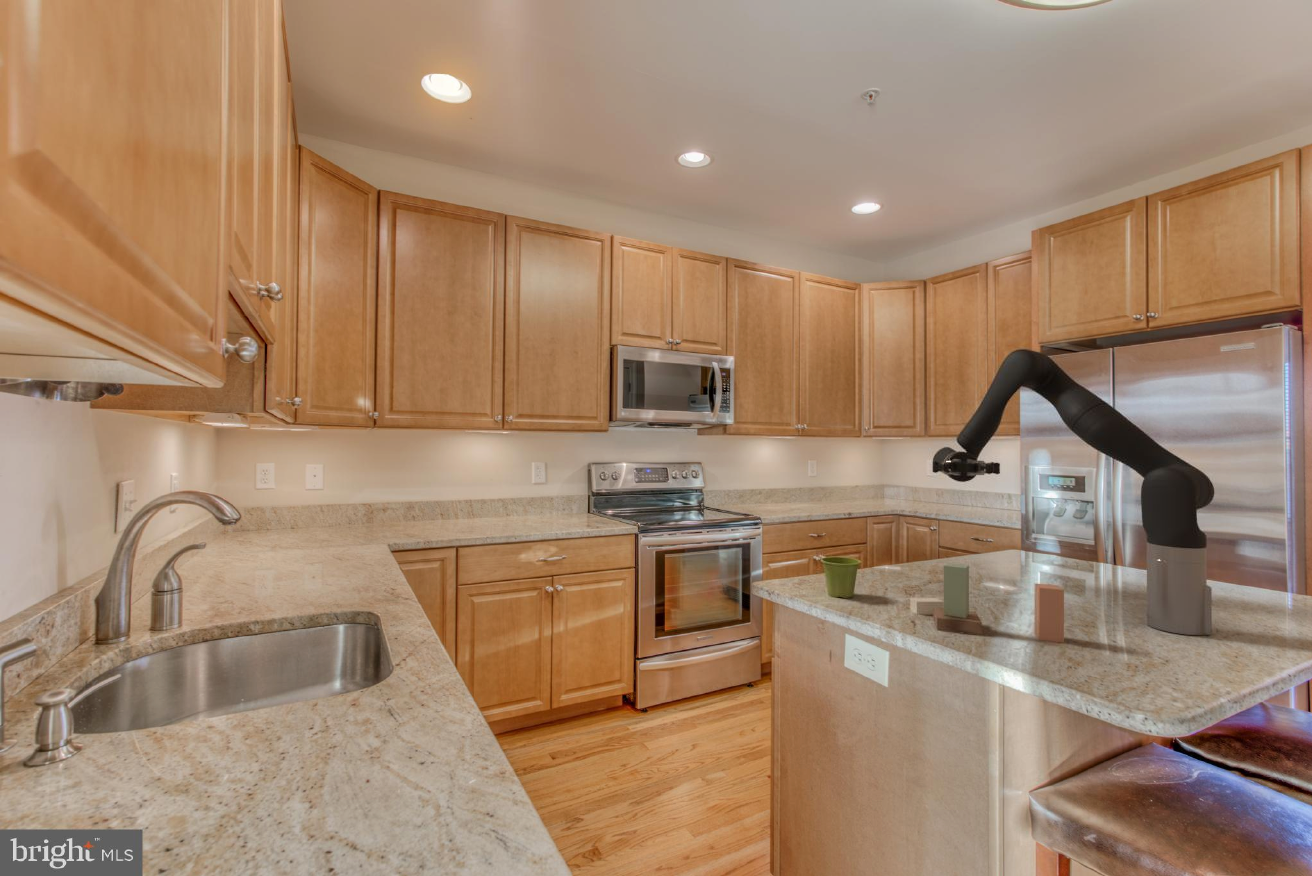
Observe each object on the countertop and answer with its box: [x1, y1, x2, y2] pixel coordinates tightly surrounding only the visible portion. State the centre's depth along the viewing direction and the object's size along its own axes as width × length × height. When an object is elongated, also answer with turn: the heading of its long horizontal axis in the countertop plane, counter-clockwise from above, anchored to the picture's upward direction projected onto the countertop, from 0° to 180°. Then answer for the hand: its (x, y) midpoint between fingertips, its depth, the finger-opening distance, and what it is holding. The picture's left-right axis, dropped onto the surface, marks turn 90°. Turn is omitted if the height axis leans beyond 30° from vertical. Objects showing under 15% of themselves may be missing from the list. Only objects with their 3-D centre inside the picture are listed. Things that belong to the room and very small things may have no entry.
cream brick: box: [910, 597, 944, 615], centre depth 132 cm, size 6×3×3 cm, turn 92°
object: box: [820, 556, 861, 599], centre depth 146 cm, size 9×9×9 cm
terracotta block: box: [1033, 582, 1065, 643], centre depth 115 cm, size 4×4×10 cm
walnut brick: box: [933, 608, 983, 636], centre depth 121 cm, size 8×8×3 cm
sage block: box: [943, 562, 970, 618], centre depth 122 cm, size 4×4×10 cm
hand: (968, 468), depth 135 cm, fingers open, 8 cm apart
